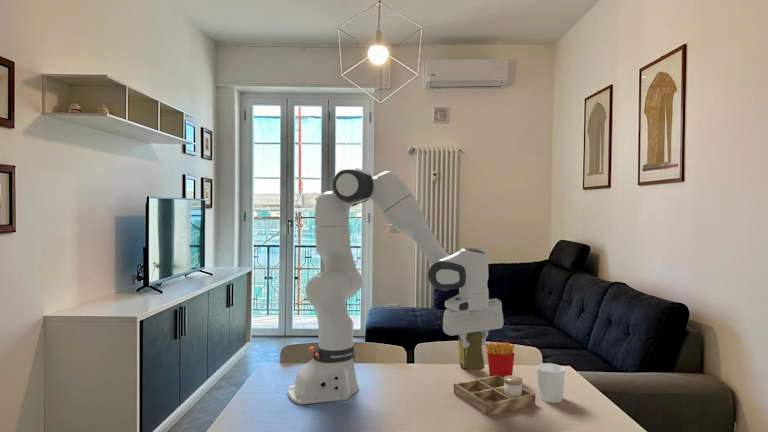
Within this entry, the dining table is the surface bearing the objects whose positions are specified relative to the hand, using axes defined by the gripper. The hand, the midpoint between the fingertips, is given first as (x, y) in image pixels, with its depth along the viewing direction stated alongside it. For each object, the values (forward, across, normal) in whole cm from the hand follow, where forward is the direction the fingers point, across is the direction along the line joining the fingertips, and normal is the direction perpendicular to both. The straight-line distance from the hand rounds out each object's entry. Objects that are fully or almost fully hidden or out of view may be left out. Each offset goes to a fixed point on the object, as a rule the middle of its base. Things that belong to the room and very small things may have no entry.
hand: (474, 345), depth 144 cm
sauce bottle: (+16, -14, -24) cm, 32 cm away
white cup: (+16, -20, +11) cm, 28 cm away
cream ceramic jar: (+15, -8, +8) cm, 19 cm away
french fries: (+16, -16, -8) cm, 24 cm away
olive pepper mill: (+6, 0, 0) cm, 7 cm away
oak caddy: (+16, -4, +4) cm, 17 cm away
